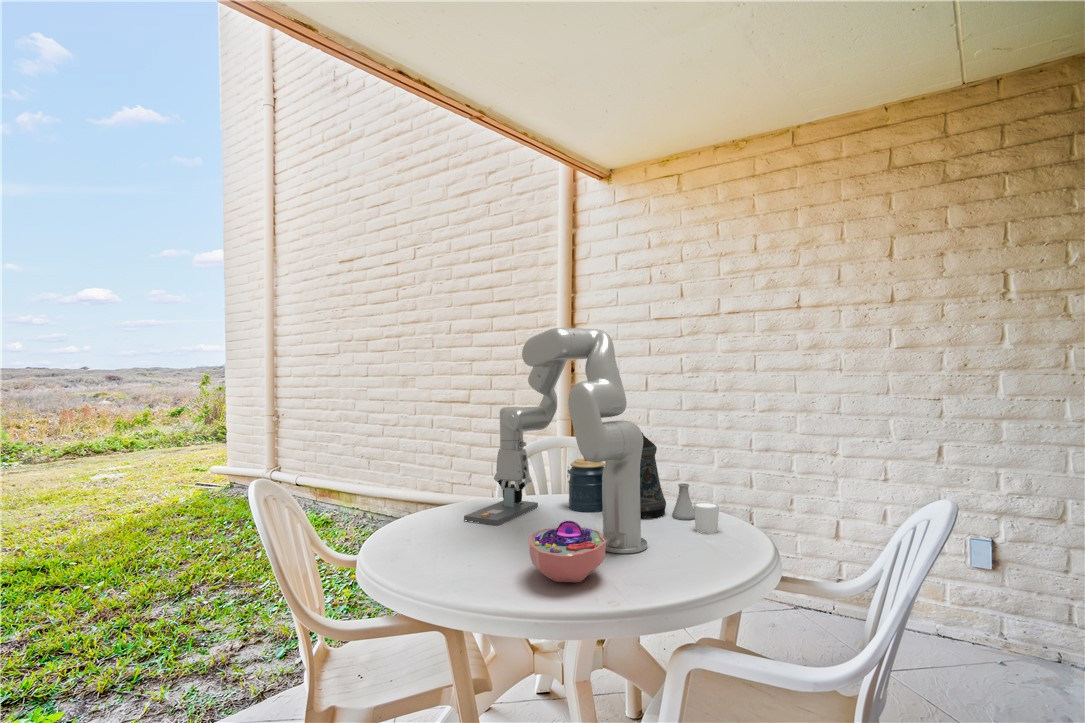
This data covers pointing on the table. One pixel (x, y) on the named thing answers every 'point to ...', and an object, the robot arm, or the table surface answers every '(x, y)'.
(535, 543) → the cell model
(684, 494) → the flask
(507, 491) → the block
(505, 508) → the outlet plate
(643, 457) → the beer stein
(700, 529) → the grey cylinder
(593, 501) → the canister
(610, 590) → the table surface
